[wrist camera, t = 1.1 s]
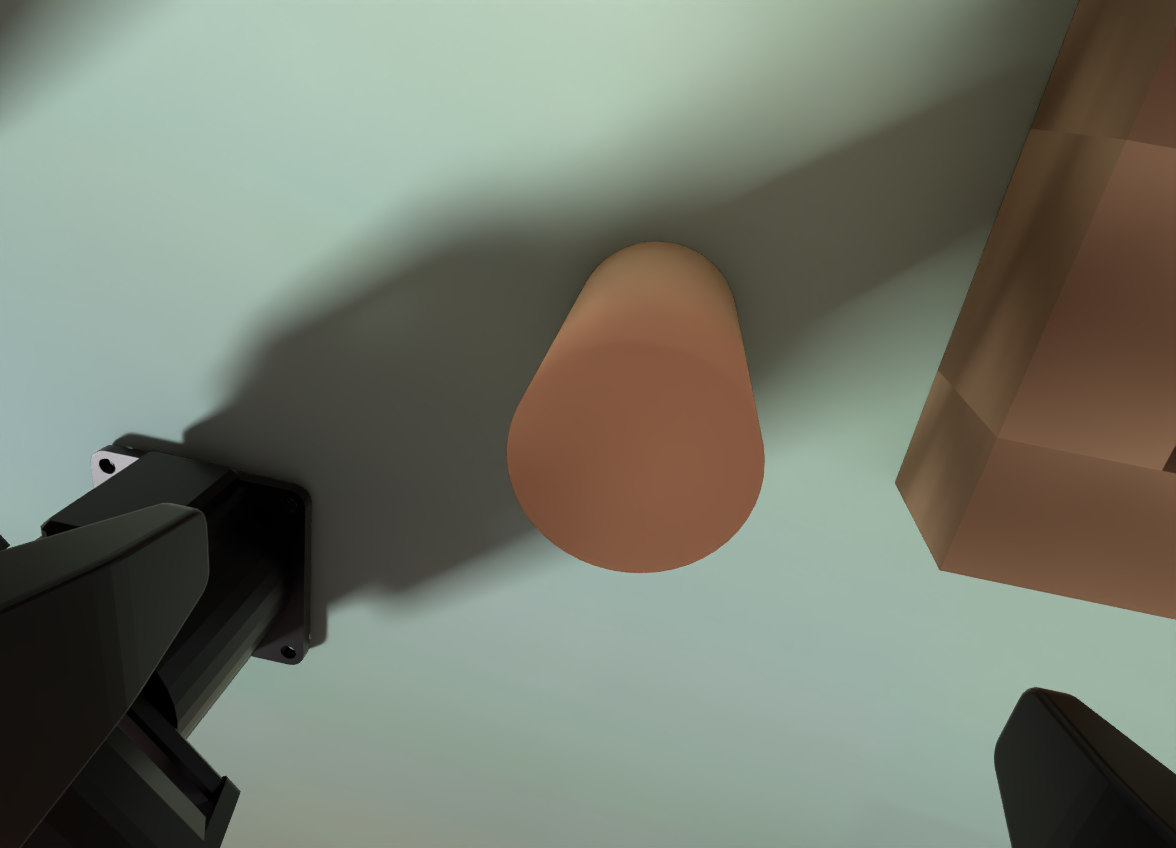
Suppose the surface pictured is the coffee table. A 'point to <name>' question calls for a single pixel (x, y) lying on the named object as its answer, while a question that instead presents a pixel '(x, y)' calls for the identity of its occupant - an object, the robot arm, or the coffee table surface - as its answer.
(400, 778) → the coffee table surface
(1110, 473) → the hole block
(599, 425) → the peg
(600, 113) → the coffee table surface
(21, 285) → the coffee table surface
